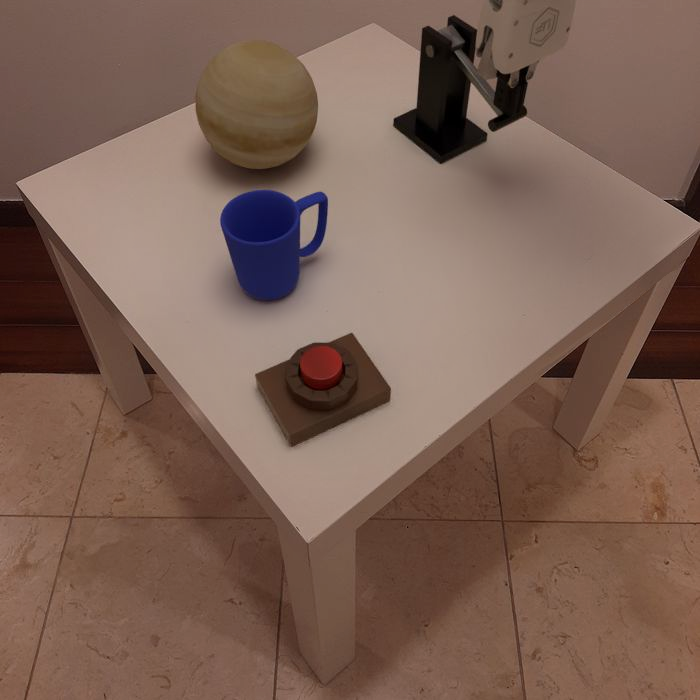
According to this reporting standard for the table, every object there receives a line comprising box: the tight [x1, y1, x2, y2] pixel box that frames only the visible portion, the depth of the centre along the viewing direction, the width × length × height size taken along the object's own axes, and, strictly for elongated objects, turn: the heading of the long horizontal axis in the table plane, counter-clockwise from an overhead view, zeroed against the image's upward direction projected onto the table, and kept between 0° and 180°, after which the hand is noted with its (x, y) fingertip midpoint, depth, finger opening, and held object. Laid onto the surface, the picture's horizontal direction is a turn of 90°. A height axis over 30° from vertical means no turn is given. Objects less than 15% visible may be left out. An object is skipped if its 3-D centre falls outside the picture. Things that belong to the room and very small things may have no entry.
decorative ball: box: [194, 39, 319, 170], centre depth 91 cm, size 15×15×15 cm
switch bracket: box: [392, 14, 489, 165], centre depth 94 cm, size 10×8×15 cm
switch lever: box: [437, 25, 528, 133], centre depth 88 cm, size 14×5×2 cm, turn 36°
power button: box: [300, 346, 342, 390], centre depth 71 cm, size 4×4×2 cm
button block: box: [254, 332, 392, 447], centre depth 73 cm, size 11×8×4 cm
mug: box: [219, 189, 329, 301], centre depth 80 cm, size 8×12×10 cm
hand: (507, 108), depth 86 cm, fingers closed
